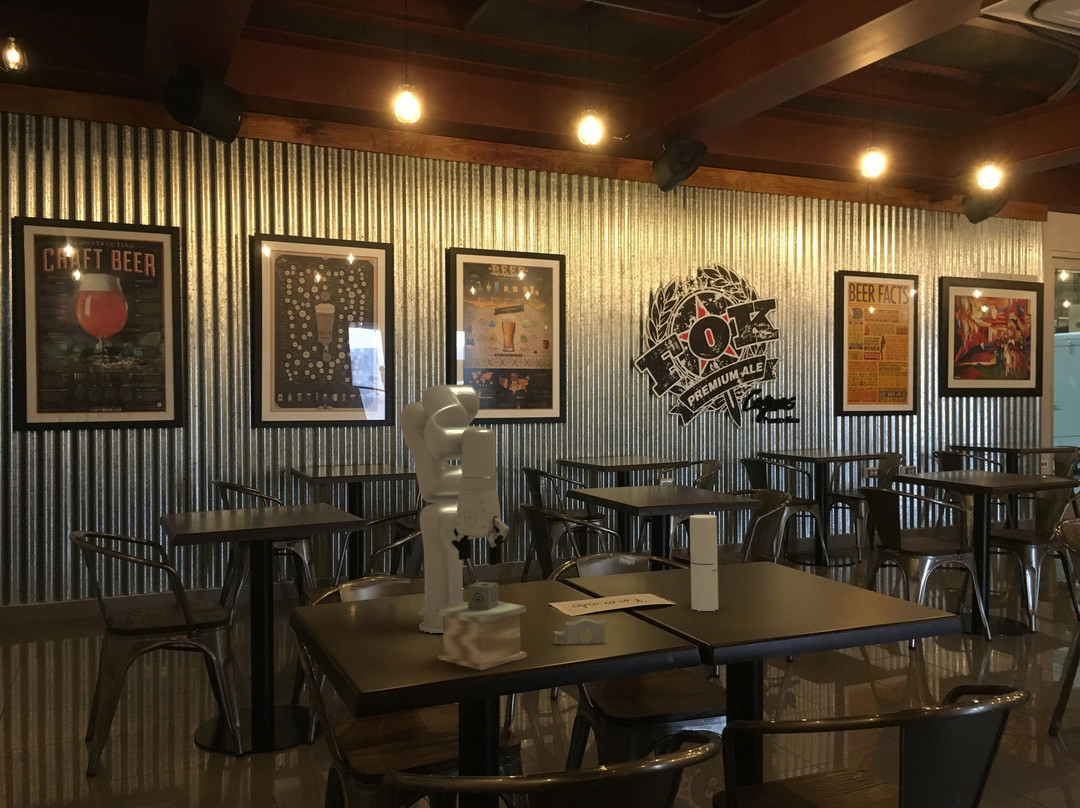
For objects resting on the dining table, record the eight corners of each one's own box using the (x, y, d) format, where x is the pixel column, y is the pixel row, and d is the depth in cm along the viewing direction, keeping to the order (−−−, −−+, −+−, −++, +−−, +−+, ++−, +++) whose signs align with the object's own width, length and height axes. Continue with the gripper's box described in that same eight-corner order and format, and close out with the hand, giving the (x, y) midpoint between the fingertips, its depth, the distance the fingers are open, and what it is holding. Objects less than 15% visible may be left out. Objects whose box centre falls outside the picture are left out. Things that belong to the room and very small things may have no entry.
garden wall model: (554, 645, 208) (554, 620, 208) (554, 643, 210) (553, 618, 210) (606, 644, 208) (605, 618, 208) (605, 642, 210) (604, 616, 210)
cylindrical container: (686, 607, 244) (685, 515, 244) (710, 605, 246) (708, 514, 246) (699, 612, 237) (697, 518, 237) (723, 610, 240) (721, 517, 240)
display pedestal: (437, 659, 197) (436, 609, 198) (482, 646, 208) (482, 598, 208) (481, 671, 188) (480, 618, 188) (527, 656, 198) (526, 606, 198)
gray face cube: (488, 610, 195) (488, 587, 195) (468, 608, 197) (467, 586, 197) (498, 605, 200) (498, 583, 200) (478, 604, 202) (478, 581, 202)
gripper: (440, 483, 201) (441, 559, 201) (494, 488, 190) (495, 569, 190) (464, 480, 207) (465, 554, 207) (518, 485, 195) (519, 563, 195)
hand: (479, 561), depth 198 cm, fingers open, 9 cm apart
